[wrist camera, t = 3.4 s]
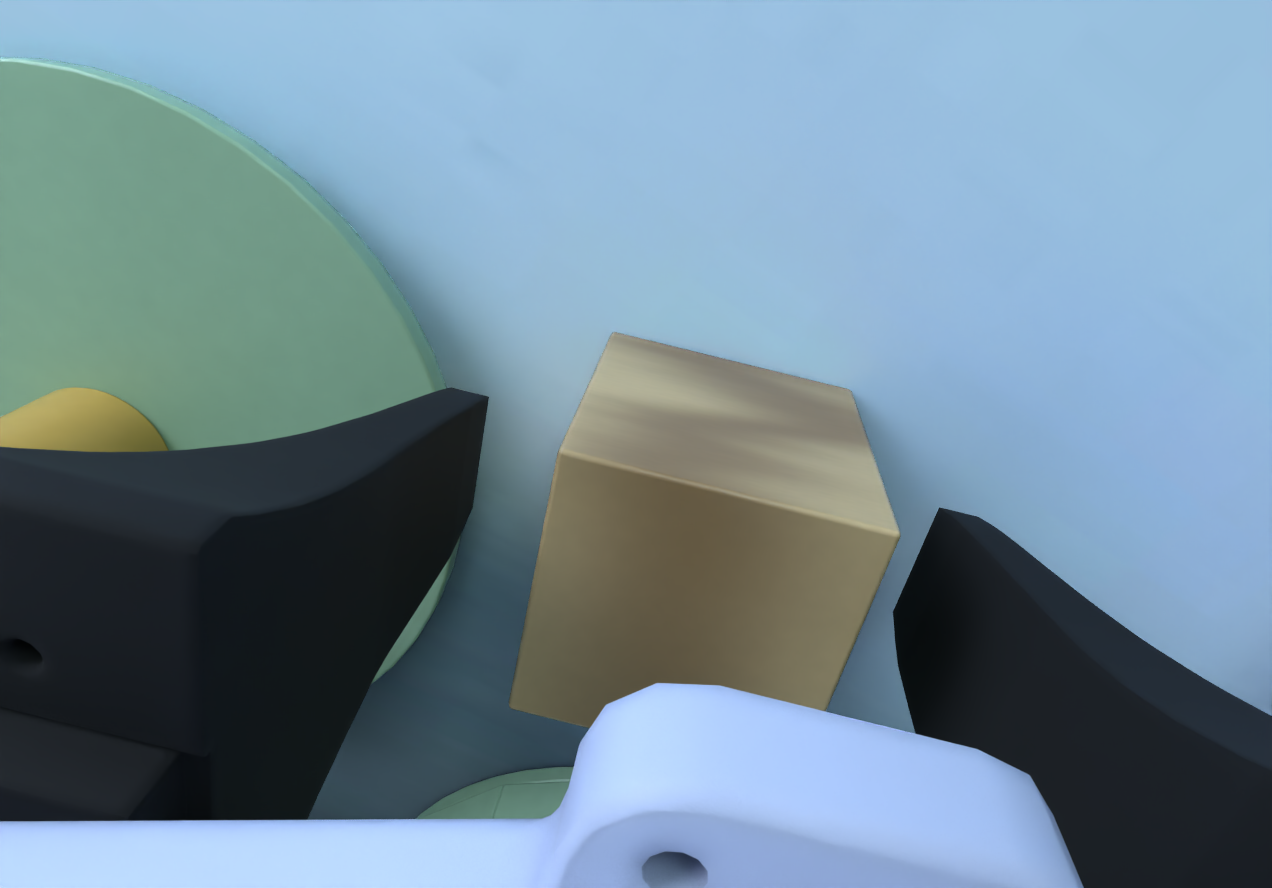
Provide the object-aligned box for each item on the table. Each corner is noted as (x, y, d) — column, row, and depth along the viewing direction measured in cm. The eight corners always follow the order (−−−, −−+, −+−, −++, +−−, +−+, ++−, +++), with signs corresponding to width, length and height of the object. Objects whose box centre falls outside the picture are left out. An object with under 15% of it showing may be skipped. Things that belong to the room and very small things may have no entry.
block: (852, 388, 13) (903, 534, 9) (781, 586, 15) (797, 782, 11) (611, 330, 13) (557, 449, 9) (568, 534, 15) (506, 709, 11)
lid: (524, 164, 12) (415, 220, 8) (436, 751, 18) (343, 968, 14) (-272, -30, 12) (-792, -76, 8) (-118, 613, 18) (-383, 786, 14)
